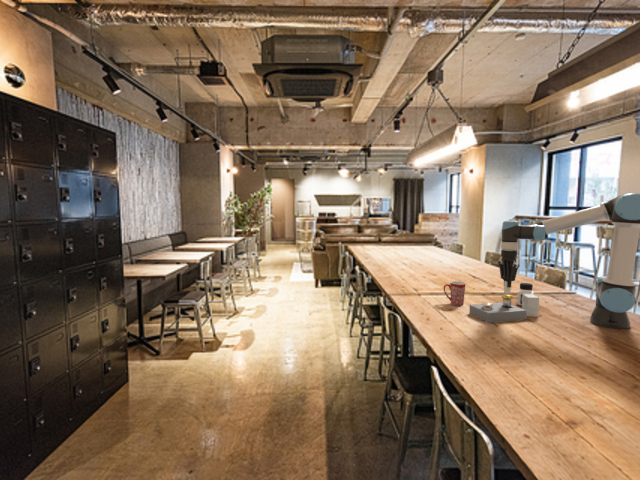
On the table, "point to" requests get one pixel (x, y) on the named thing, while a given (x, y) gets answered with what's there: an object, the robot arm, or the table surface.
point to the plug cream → (487, 305)
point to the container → (524, 291)
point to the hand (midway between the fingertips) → (507, 292)
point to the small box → (530, 304)
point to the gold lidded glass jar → (507, 300)
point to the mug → (456, 292)
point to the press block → (498, 313)
